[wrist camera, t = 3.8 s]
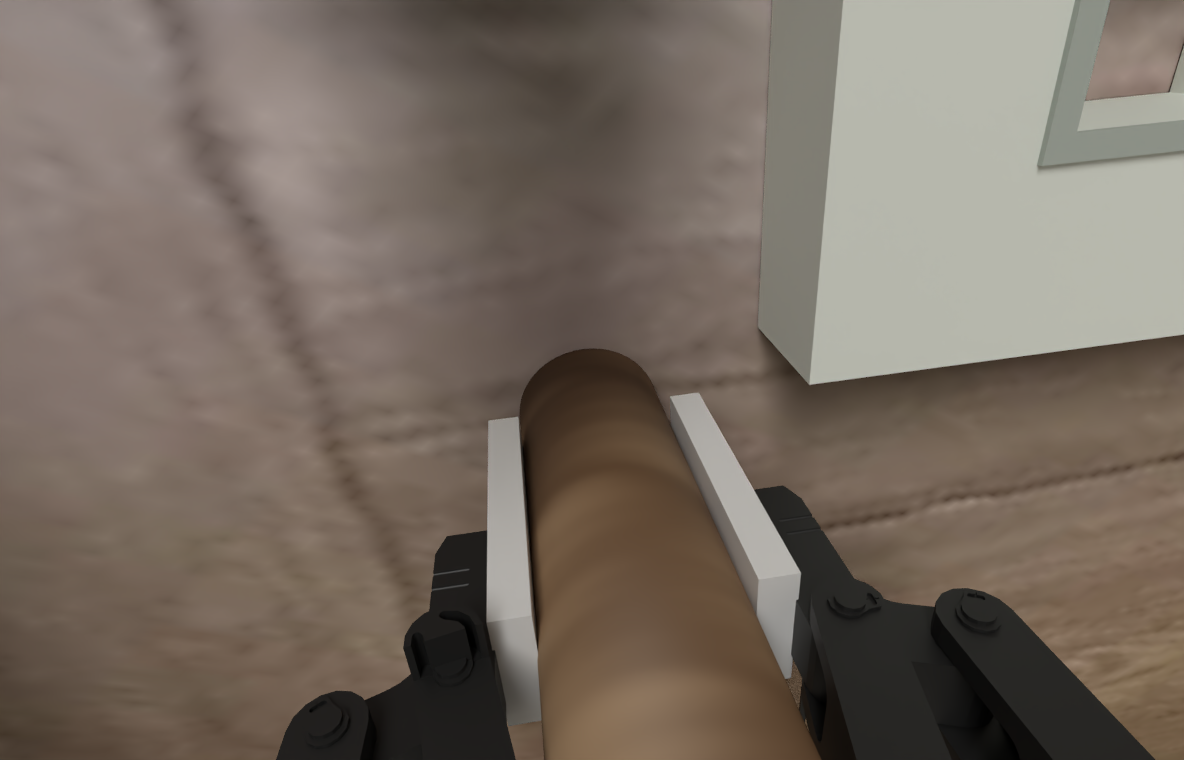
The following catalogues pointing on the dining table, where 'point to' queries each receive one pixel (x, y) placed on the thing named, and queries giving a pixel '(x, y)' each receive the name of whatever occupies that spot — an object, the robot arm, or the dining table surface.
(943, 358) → the socket board
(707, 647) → the walnut peg
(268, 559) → the dining table surface
